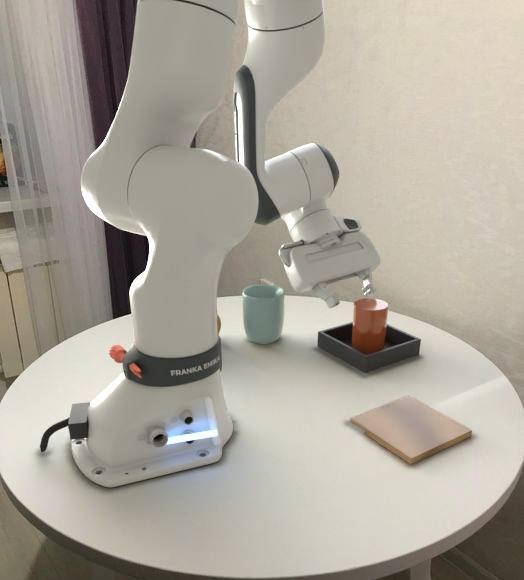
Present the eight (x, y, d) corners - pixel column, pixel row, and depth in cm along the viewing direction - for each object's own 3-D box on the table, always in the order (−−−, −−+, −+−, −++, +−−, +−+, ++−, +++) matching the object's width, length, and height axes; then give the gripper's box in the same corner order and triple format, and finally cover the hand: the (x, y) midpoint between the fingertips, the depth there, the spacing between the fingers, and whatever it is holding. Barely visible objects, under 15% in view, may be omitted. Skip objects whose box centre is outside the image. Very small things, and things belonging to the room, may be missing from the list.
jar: (366, 360, 104) (370, 312, 100) (344, 348, 108) (346, 302, 104) (391, 352, 107) (395, 305, 103) (368, 341, 111) (371, 296, 107)
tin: (364, 376, 99) (366, 357, 98) (317, 349, 109) (317, 331, 108) (419, 357, 106) (421, 339, 104) (369, 333, 116) (370, 316, 114)
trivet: (410, 464, 77) (411, 458, 76) (349, 423, 86) (350, 418, 86) (471, 436, 83) (472, 430, 82) (408, 400, 92) (409, 395, 91)
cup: (236, 345, 111) (235, 295, 107) (253, 330, 118) (252, 282, 114) (275, 351, 109) (275, 300, 104) (289, 335, 115) (290, 287, 111)
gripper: (283, 236, 101) (320, 305, 98) (364, 218, 113) (400, 280, 110) (267, 255, 106) (302, 321, 103) (346, 237, 118) (380, 296, 115)
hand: (353, 300), depth 107 cm, fingers open, 8 cm apart
